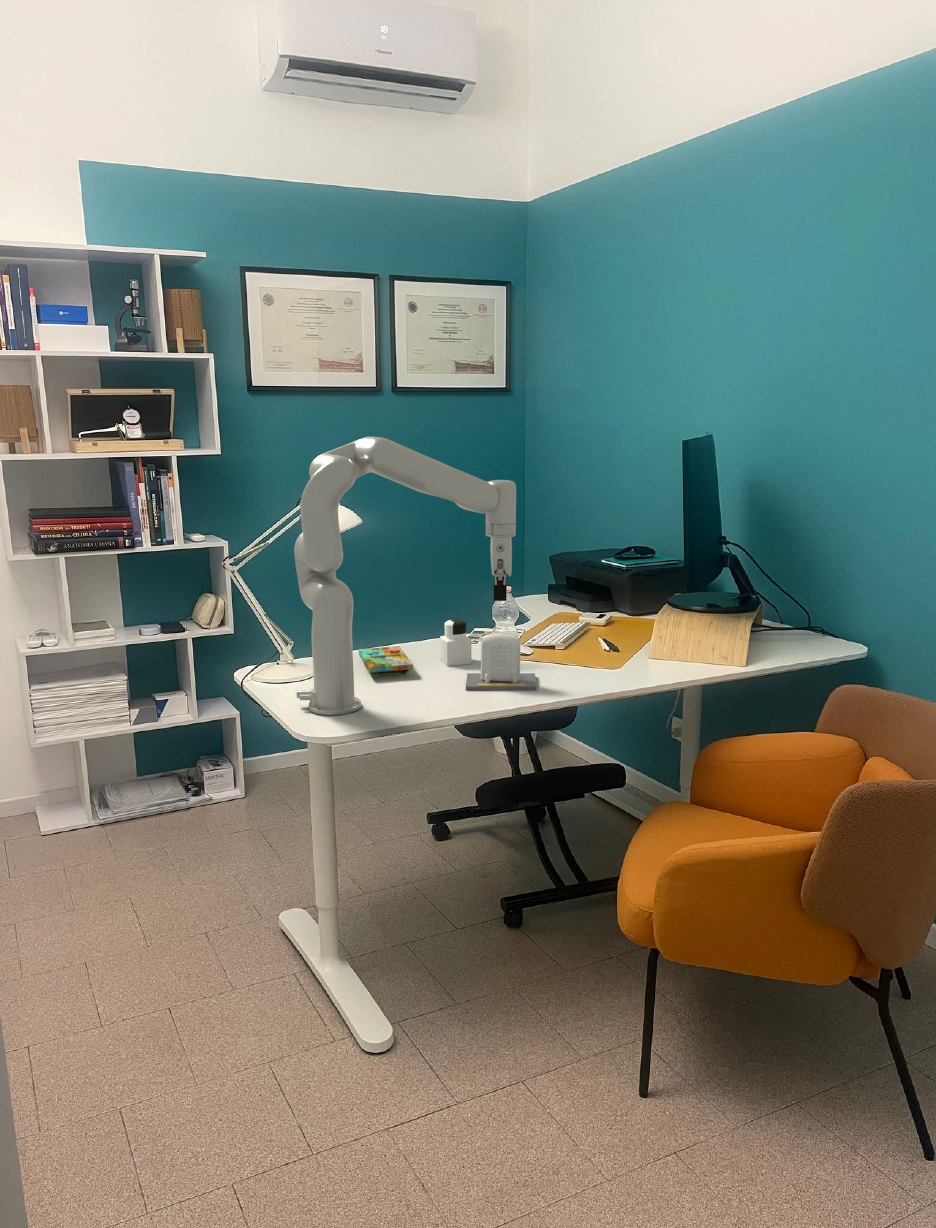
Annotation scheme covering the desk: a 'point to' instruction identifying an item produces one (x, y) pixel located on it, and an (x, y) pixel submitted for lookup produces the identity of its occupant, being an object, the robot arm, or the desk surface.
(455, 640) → the medicine bottle
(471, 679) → the pin tray
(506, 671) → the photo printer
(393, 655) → the puzzle game
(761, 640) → the desk surface
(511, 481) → the robot arm
